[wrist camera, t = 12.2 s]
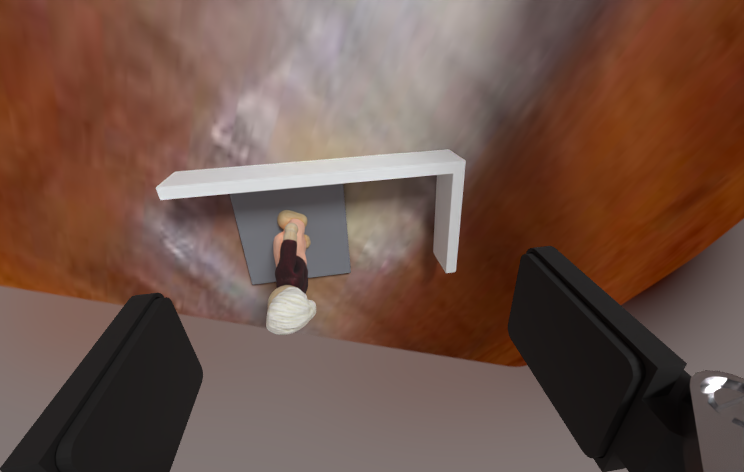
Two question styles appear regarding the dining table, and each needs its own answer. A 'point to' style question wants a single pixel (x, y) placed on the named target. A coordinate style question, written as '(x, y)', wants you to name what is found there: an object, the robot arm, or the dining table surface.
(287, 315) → the grandmother figurine
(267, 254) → the slate mat
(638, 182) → the dining table surface
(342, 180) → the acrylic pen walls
